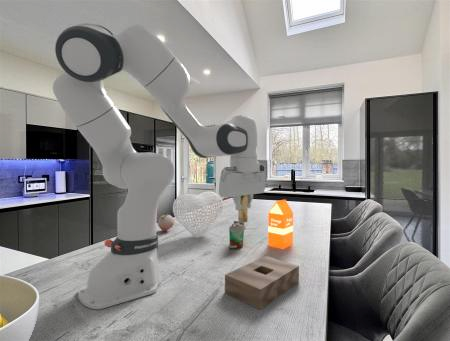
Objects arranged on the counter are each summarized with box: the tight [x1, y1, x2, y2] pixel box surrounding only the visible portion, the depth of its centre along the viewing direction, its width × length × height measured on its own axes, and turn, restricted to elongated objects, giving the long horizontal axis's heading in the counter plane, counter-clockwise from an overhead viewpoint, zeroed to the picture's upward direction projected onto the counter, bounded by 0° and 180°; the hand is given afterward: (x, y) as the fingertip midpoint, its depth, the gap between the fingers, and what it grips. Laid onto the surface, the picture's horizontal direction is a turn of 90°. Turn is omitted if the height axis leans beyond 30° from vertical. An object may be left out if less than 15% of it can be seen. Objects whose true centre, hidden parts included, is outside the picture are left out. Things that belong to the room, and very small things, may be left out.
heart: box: [172, 190, 224, 239], centre depth 122 cm, size 28×16×22 cm, turn 140°
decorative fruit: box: [157, 212, 175, 232], centre depth 133 cm, size 9×8×10 cm
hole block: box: [224, 255, 300, 310], centre depth 72 cm, size 20×12×5 cm, turn 137°
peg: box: [237, 195, 249, 224], centre depth 82 cm, size 3×3×10 cm
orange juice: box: [267, 199, 294, 250], centre depth 112 cm, size 8×9×20 cm
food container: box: [228, 220, 246, 251], centre depth 109 cm, size 12×6×10 cm, turn 168°
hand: (243, 208), depth 82 cm, fingers closed on peg, 3 cm apart
